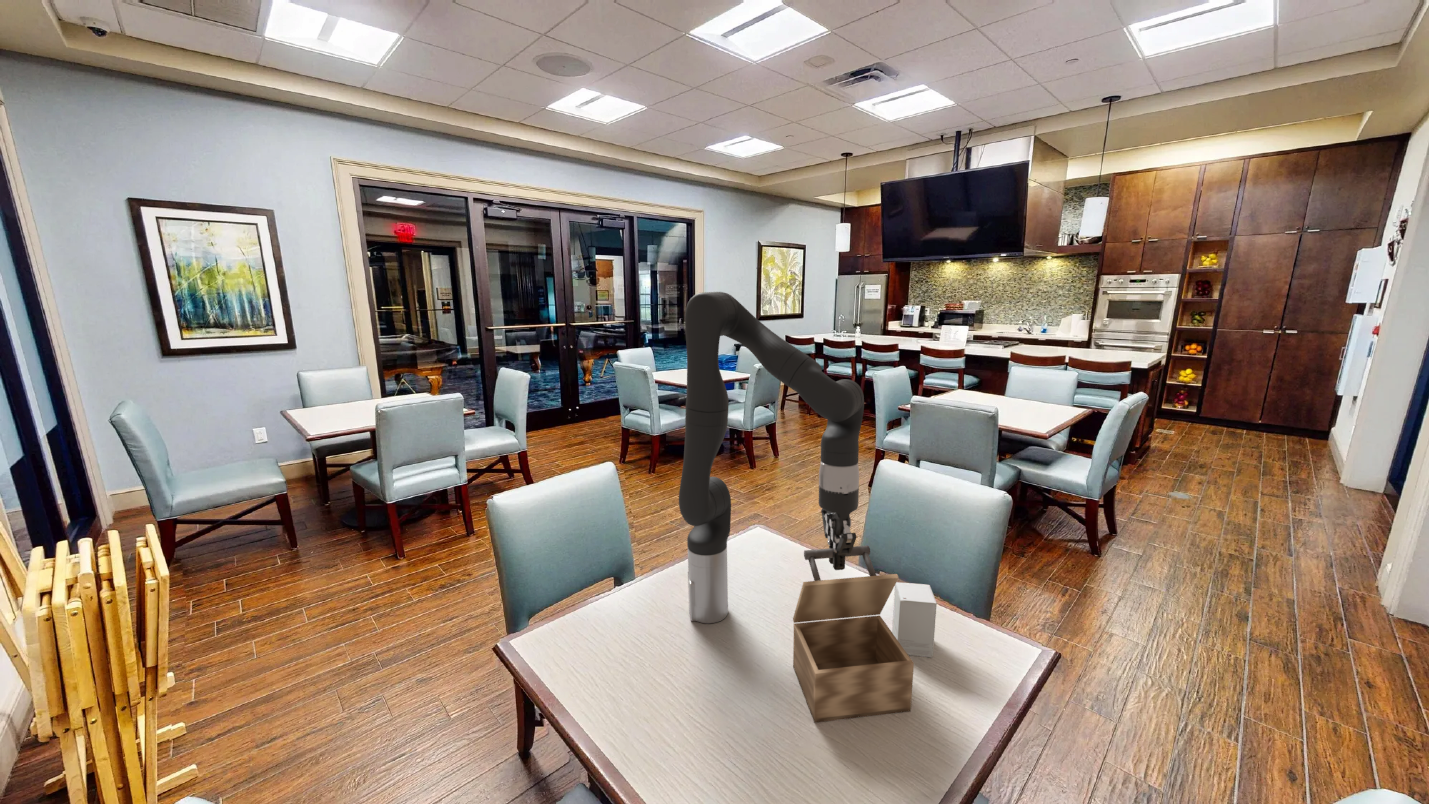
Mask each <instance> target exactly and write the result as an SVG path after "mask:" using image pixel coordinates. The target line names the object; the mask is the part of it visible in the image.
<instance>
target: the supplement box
mask: <svg viewBox="0 0 1429 804" xmlns="http://www.w3.org/2000/svg"><path fill="white" fill-rule="evenodd" d="M893 595H894V597H893V610H892V611H893V614H892V615H893V616H892V628H891V632H892V633H893V635H894V636H895V637H896V639H897V640H898V642H899V643H900V644H901V646H902V647H903V649H904V650H905V651H906V653H907V654H908V656H914V657H923V658H924V657H925V658H933V656H934V644H935V643H934V642H935V633H936V618H937V617H936V616H937V604H938V603H937V600H936V597H935V595H934V592H933V590H932V587H931V585H930V584H923V583H911V582H898V581H897V582H896V584H895V586H894V594H893Z"/></svg>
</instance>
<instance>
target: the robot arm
mask: <svg viewBox="0 0 1429 804" xmlns="http://www.w3.org/2000/svg"><path fill="white" fill-rule="evenodd" d="M684 329H685V341H686V343H685V344H686V345H685V346H686V359H687V360H686V361H687V363H686V364H687V365H686V395H685V396H686V397H685V398H686V400H685V417H684V418H685V419H684V421H685V425H684V428H685V432H684V433H685V434H684V449H683V450H684V451H683V463H682V471H681V479H680V486H679V491H678V506H679V508H678V509H679V511H680V514H681V517H682V518H683V520H684V521H685V522H686V523H687V524H688V525H690V526H692V529H691V530H690V531H689V533H688V536H687V541H686V543H687V569H688V571H687V589H688V592H687V593H688V608H689V609H688V611H689V617H690V621H691V622H698V623H702V624H713V623H718V622H720V621H722V620H725V618H727V616H728V614H729V591H728V588H729V587H728V585H729V584H728V583H729V582H728V580H729V579H728V539H729V536H730V533H731V522H732V521H731V520H732V519H731V518H732V499H731V494H730V490H729V487H728V486H727V484H726V483H725V481H723V480H722V479H720V477H717V476H711V471H712V467H713V464H714V462H715V459H716V456H717V454H718V453H719V450H720V447H721V445H722V443H723V441H724V438H725V435H726V433H727V431H728V430H727V429H728V423H729V422H728V419H729V407H730V404H729V394H728V390H727V388H726V384H725V382H724V380H723V379H724V378H723V376H722V374H721V369H720V365H719V351H720V350H719V349H720V340H721V337H722V336H725V337H727V338H728V339H732V341H735V342H737V343H739V344H741V345H743V347H745V348H746V349H747V350H749V352H750V353H752V354H753V356H754V357H755V358H756V360H757V361H758V362H759V363H760V364H761V366H763V368H764V369H765V370H766V371H767V372H768V373H769V374H770V375H771V376H773V378H775V379H777V380H778V381H780V382H781V383H782V384H784V385H785V386H787V387H788V388H789V389H791V390H793V391H795V393H797V394H798V395H799V396H800V397H801V398H802V400H803V401H804V402H805V403H806V404H807V405H808V406H809V407H810V408H811V409H812V410H813V411H814V412H815V413H817V414H818V415H820V417H823V418H824V419H826V420H827V423H826V428H825V431H824V432H823V434H822V436H821V439H820V463H819V472H818V506H819V507H820V508H821V518H822V525H823V532H824V533H823V534H824V537H825V539H827V541H826V542H827V545H828V549H829V548H833V558H828V563H829V564H831V565H832V568H833V570H835V571H843V570H845V569H846V557H845V554H851V551H852V548H853V547H855V546H854V545H855V542H856V541H857V534H856V532H851V528H852V527H851V526H852V519H851V516H850V515H851V514H852V513H854V512H855V511H857V509H858V508H859V495H860V494H859V489H860V468H859V453H860V452H859V449H860V448H859V447H860V446H859V444H860V443H859V440H860V439H859V438H860V431H861V427H862V422H863V417H864V416H863V415H864V409H865V399H864V398H865V397H864V392H863V390H862V387H861V386H860V385H859V384H858V383H857V382H856V381H854V380H852V379H843V378H842V379H839V380H837V381H835V380H834V379H832V378H831V377H829V376H828V375H827V374H825V373H824V372H823V371H822V370H823V369H822V366H821V365H820V364H819V362H817V361H816V360H815V359H814V358H812V357H811V356H809V355H808V354H806V353H805V352H803V351H801V350H800V349H798V348H797V347H795V346H794V345H793V344H791V343H789V342H788V341H786V340H785V339H783V338H782V337H780V336H779V334H776V333H775V332H774V331H772V330H771V329H770V328H768V327H767V326H766V325H765V324H763V323H762V322H761V321H760V320H759V319H758V318H756V317H755V316H754V315H753V314H752V313H751V312H750V311H749V310H748V309H747V308H746V307H745V306H744V305H742V303H741V302H739V300H737V299H736V298H735V297H734V296H732V295H731V294H730V293H727V292H724V291H705V292H699V293H696V294H694V295H693V296H692V297H690V299H689V301H688V302H687V305H686V308H685V314H684Z"/></svg>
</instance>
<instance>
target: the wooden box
mask: <svg viewBox="0 0 1429 804" xmlns="http://www.w3.org/2000/svg"><path fill="white" fill-rule="evenodd" d="M792 654H793V656H792V665H793V666H792V667H793V670H794V673H795V675H796V677H797V681H798V683H799V686H800V689H801V692H802V694H803V697H804V700H805V703H806V705H807V707H808V710H809V712H810V715H811V717H812V720H813V723H816V724H817V723H824V722H833V721H840V720H848V719H850V720H851V719H857V718H867V717H875V716H882V715H891V714H900V713H901V714H902V713H909V712H911V710H912V697H913V682H914V666H915V665H914V664H915V663H914V661H913V660H912V659H911V657H910V655H908V654H907V653H906V651H905V650H904V649H903V647H902V646H901V644H900V643H899V642H898V640H897V639H896V637H895V636H894V635H893V633H892V629H890V627H889V626H888V625H887V623H886V622H885V621H884V619H883V618H882V616H881V614H880V615H870V616H860V617H849V618H839V619H828V620H818V621H807V622H797V623H793V653H792Z"/></svg>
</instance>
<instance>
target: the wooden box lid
mask: <svg viewBox="0 0 1429 804" xmlns="http://www.w3.org/2000/svg"><path fill="white" fill-rule="evenodd" d="M870 555H871V548H870V546H869V545H857V546H853V548H852V551H851V554H845V558H846V557H847V558H849V557H857V556H858V557H859V556H862V559H863V561H864V564H865V567H866V569H867V571H868V574H869V576H868V575H867V576H858V577H857V576H856V577H847V578H846V577H844V578H833V579H824V580H822V579H821V576H820V572H819V569H818V567H817V563H816V560H821V559H822V560H823V559H829V558H833V548H829V547H828V548H819V549H817V548H816V549H806V550H804V551H803V557H804V561H808V563H809V567H810V570H811V574H812V577H813V581H812V580H810V581H803V583H802V586H801V590H800V593H799V597H798V600H797V604H796V605H795V606H796V607H795V610H794V614H793V617H792V621H793V624H795V623H806V622H816V621H827V620H837V619H848V618H858V617H869V616H879V615H880V616H881V614H882V611H883V610H884V607H885V605H886V603H887V602H888V599H889V597H890V595H891V593H892V592H893V589H895V584H896V582H898V580H899V575H898V574H897V573H891V574H878V575H877V573H876V570H875V568H874V566H873V562H872V560H871V557H870Z"/></svg>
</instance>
